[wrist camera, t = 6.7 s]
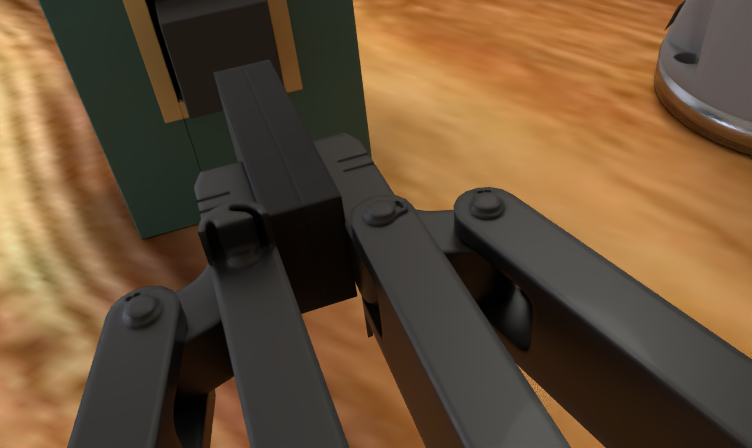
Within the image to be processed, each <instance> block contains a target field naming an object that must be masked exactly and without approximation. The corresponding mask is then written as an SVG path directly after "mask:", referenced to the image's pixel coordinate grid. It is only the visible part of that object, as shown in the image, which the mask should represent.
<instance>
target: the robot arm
mask: <svg viewBox="0 0 752 448" xmlns="http://www.w3.org/2000/svg"><path fill="white" fill-rule="evenodd" d="M672 23H673V24H672ZM671 24H672V26H671V27H670V29H669V31H668V33H667V34H666V36H665V39H664V40H663V42H662V44H661V47H660V50H659V55H658V61H657V66H656V71H655V77H654V85H655V90H656V93H657V95H658V97H659V99H660V101H661V102H662V103H663V105H664V106H665V107H666V108H667V110H668V111H669V112H670V113H671V114H672V115H673V116H675V117H676V118H677V119H678V120H679V121H681V122H682V123H684V124H685V125H686V126H688V127H689V128H691V129H693V130H694V131H696V132H698V133H699V134H701V135H703V136H705V137H707V138H709V139H711V140H713V141H715V142H717V143H720V144H722V145H724V146H727V147H729V148H732V149H735V150H737V151H740V152H743V153H746V154H750V155H752V0H685V1H684V2H683V3H682V4H680V5H679V6H678V7H677V9H676V11H675V13H674V14H673V16H672V18H671V20H670V22H669V23H668V25H667V27H666V29H667V28H668V27H669V26H670V25H671ZM666 29H665V30H666ZM665 30H664V31H665ZM213 73H214V76H215V80H216V84H217V87H218V91H219V95H220V99H221V102H222V106H223V110H224V113H225V117H226V121H227V124H228V128H229V132H230V135H231V139H232V143H233V146H234V150H235V154H236V157H237V161H238V162H237V163H233V164H229V165H225V166H222V167H218V168H214V169H210V170H206V171H203V172H200V174H199V176H198V178H197V181H196V183H195V185H194V189H195V193H196V198H197V202H198V207H199V211H200V215H201V221H200V223H199V227H198V234H199V237H200V240H201V243H202V246H203V248H204V251H205V254H206V257H207V260H208V264H207V267H206V268H205V270H204V271H203V273H202V274H201V275H200V276H199V277H198V278H197V279H196V280H195V281H193V282H192V283H190V284H189V285H187V286H186V287H184V288H182V289H180V290H178V291H177V292H175V293H174V292H173V290H171V289H168V288H165V287H163V286H148V287H144V288H140V289H136V290H134V291H132V292H130V293H128V294H126V295H124V296H123V297H121V298H120V299H119V300H118V301H117V302H116V303H115V304H114V305H113V306H112V307H111V309H110V310H109V312H108V314H107V316H106V318H105V322H104V325H103V328H102V332H101V335H100V339H99V342H98V345H97V349H96V352H95V356H94V359H93V362H92V366H91V369H90V372H89V376H88V379H87V383H86V386H85V389H84V393H83V396H82V400H81V403H80V406H79V410H78V413H77V416H76V420H75V423H74V427H73V430H72V433H71V437H70V440H69V444H68V447H67V448H210V443H211V434H212V424H213V415H214V406H215V397H216V395H215V388H217V387H218V386H220V385H221V384H223V383H224V382H226V381H227V380H229V379H231V378H232V377H234V376H235V380H236V385H237V389H238V394H239V398H240V402H241V407H242V411H243V416H244V420H245V424H246V429H247V433H248V438H249V442H250V446H251V448H349V445H348V443H347V440H346V437H345V434H344V432H343V429H342V426H341V423H340V420H339V418H338V415H337V412H336V409H335V407H334V404H333V401H332V398H331V396H330V393H329V390H328V387H327V384H326V382H325V379H324V376H323V373H322V371H321V368H320V365H319V362H318V360H317V357H316V354H315V351H314V348H313V346H312V343H311V340H310V337H309V335H308V332H307V329H306V326H305V323H304V321H303V318H302V315H301V314H302V313H306V312H309V311H312V310H315V309H318V308H322V307H325V306H328V305H331V304H334V303H337V302H341V301H344V300H347V299H350V298H353V297H356V296H357V291H356V285H355V282H356V284H357V286H358V289H359V291H360V293H361V295H362V301H363V307H364V314H365V321H366V327H367V333H368V337H371V336H373V333H374V335H375V337H376V339H377V342H378V344H379V346H380V348H381V350H382V353H383V355H384V357H385V359H386V361H387V363H388V366H389V368H390V370H391V372H392V374H393V377H394V379H395V381H396V383H397V385H398V388H399V390H400V392H401V394H402V396H403V398H404V401H405V403H406V405H407V407H408V409H409V412H410V414H411V416H412V418H413V420H414V422H415V425H416V427H417V429H418V431H419V433H420V436H421V438H422V440H423V442H424V444H425V447H426V448H571V447H570V445H569V444H568V442H567V441H566V439H565V438H564V436H563V435H562V433H561V432H560V430H559V428H558V427H557V425H556V424H555V422H554V421H553V419H552V418H551V416H550V415H549V413H548V412H547V410H546V409H545V407H544V406H543V404H542V402H541V401H540V399H539V398H538V396H537V395H536V393H535V392H534V390H533V389H532V387H531V386H530V384H529V383H528V381H527V380H526V378H525V377H524V375H523V373H522V372H521V370H520V369H519V367H520V368H522V369H523V370H524V371H525V372H526V373H527V374H528V375H529V376H530V377H531V378H532V379H533V380H534V381H535V382H536V383H537V384H539V385H540V386H541V387H542V388H543V389H544V390H545V391H546V392H547V393H548V394H549V395H550V396H551V397H552V398H553V399H555V400H556V401H557V402H558V403H559V404H560V405H561V406H562V407H563V408H564V409H565V410H566V411H567V412H568V413H569V414H570V415H572V416H573V417H574V418H575V419H576V420H577V421H578V422H579V423H580V424H581V425H582V426H583V427H584V428H585V429H586V430H588V431H589V432H590V433H591V434H592V435H593V436H594V437H595V438H596V439H597V440H598V441H599V442H600V443H601V444H602V445H603V446H605V447H606V448H752V359H751V358H749V357H748V356H746V355H745V354H743V353H742V352H740V351H739V350H737V349H736V348H735V347H733V346H732V345H730V344H729V343H727V342H726V341H724V340H723V339H722V338H720V337H719V336H717V335H716V334H714V333H713V332H711V331H710V330H708V329H707V328H706V327H704V326H703V325H701V324H700V323H698V322H697V321H695V320H694V319H693V318H691V317H690V316H688V315H687V314H685V313H684V312H682V311H681V310H679V309H678V308H677V307H675V306H674V305H672V304H671V303H669V302H668V301H666V300H665V299H664V298H662V297H661V296H659V295H658V294H656V293H655V292H653V291H652V290H650V289H649V288H648V287H646V286H645V285H643V284H642V283H640V282H639V281H637V280H636V279H635V278H633V277H632V276H630V275H629V274H627V273H626V272H624V271H623V270H621V269H620V268H619V267H617V266H616V265H614V264H613V263H611V262H610V261H608V260H607V259H606V258H604V257H603V256H601V255H600V254H598V253H597V252H595V251H594V250H592V249H591V248H590V247H588V246H587V245H585V244H584V243H582V242H581V241H579V240H578V239H576V238H575V237H574V236H572V235H571V234H569V233H568V232H566V231H565V230H563V229H562V228H561V227H559V226H558V225H556V224H555V223H553V222H552V221H550V220H549V219H547V218H546V217H545V216H543V215H542V214H540V213H539V212H537V211H536V210H534V209H533V208H532V207H530V206H529V205H527V204H526V203H524V202H523V201H521V200H520V199H518V198H517V197H516V196H514V195H513V194H511V193H509V192H507V191H504V190H502V189H497V188H491V187H485V188H476V189H473V190H469V191H466V192H465V193H463V194H462V195H461V196H459V197H458V198H457V200H456V202H455V204H454V210H444V211H422V210H417V209H415V208H414V207H413V205H412V204H410V203H409V202H408V201H407V200H406V199H404V198H401V197H399V196H396V195H394V193H393V192H392V190H391V189H390V187H389V185H388V184H387V182H386V181H385V179H384V178H383V176H382V174H381V173H380V171H379V170H378V168H377V167H376V165H375V164H374V162H373V160H372V159H371V157H370V156H369V155H368V152H367V151H366V149H365V148H364V146H363V145H362V143H361V141H360V140H358V139H356V138H354V137H352V136H351V135H349V134H347V133H341V134H338V135H334V136H330V137H326V138H322V139H318V140H315V141H312V139H311V137H310V135H309V133H308V131H307V129H306V128H305V126H304V124H303V122H302V120H301V118H300V116H299V114H298V112H297V110H296V109H295V107H294V105H293V103H292V101H291V99H290V97H289V95H288V93H287V91H286V90H285V88H284V86H283V84H282V82H281V80H280V78H279V76H278V74H277V72H276V71H275V69H274V67H273V65H272V63H271V61H270V59H269V60H265V61H260V62H256V63H252V64H248V65H243V66H239V67H235V68H230V69H226V70H222V71H218V72H213ZM517 365H518V366H519V367H518V366H517Z"/></svg>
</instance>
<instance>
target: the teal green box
mask: <svg viewBox="0 0 752 448" xmlns="http://www.w3.org/2000/svg"><path fill="white" fill-rule="evenodd" d="M38 1H39V4H40V6H41V8H42V11H43V13H44V15H45V18H46V20H47V22H48V24H49V27H50V29H51V31H52V34H53V36H54V38H55V41H56V43H57V45H58V48H59V50H60V52H61V55H62V57H63V59H64V61H65V64H66V66H67V68H68V71H69V73H70V75H71V78H72V80H73V82H74V85H75V87H76V89H77V92H78V94H79V96H80V98H81V101H82V103H83V105H84V108H85V110H86V112H87V115H88V117H89V119H90V122H91V124H92V126H93V129H94V131H95V133H96V135H97V138H98V140H99V142H100V145H101V147H102V149H103V152H104V154H105V156H106V159H107V161H108V163H109V166H110V168H111V170H112V172H113V175H114V177H115V179H116V182H117V184H118V186H119V189H120V191H121V193H122V196H123V198H124V200H125V203H126V205H127V207H128V209H129V212H130V214H131V216H132V219H133V221H134V223H135V226H136V228H137V230H138V233H139V235H140V237H141V239H145V238H149V237H153V236H156V235H160V234H163V233H167V232H170V231H174V230H177V229H181V228H184V227H188V226H191V225H195V224H198V223H200V221H201V215H200V211H199V207H198V202H197V198H196V193H195V189H194V185H195V183H196V181H197V178H198V176H199V174H200V172H203V171H206V170H210V169H214V168H218V167H222V166H225V165H229V164H233V163H237V162H238V161H237V157H236V154H235V150H234V146H233V143H232V139H231V135H230V132H229V128H228V124H227V121H226V117H225V113H224V110H223V111H219V112H215V113H211V114H207V115H203V116H199V117H195V118H190V117H189V115H188V112H187V109H186V106H185V103H184V99H183V96H182V93H181V90H180V87H179V84H178V81H177V78H176V74H175V71H174V68H173V65H172V62H171V59H170V56H169V53H168V49H167V46H166V43H165V40H164V37H163V34H162V31H161V28H160V24H159V20H158V16H157V11H156V7H155V3H154V0H38ZM266 1H267V5H268V10H269V15H270V20H271V25H272V30H273V34H274V39H275V44H276V49H277V54H278V59H279V64H280V68H281V73H282V78H283V83H284V88H285V90H286V91H287V93H288V95H289V97H290V99H291V101H292V103H293V105H294V107H295V109H296V110H297V112H298V114H299V116H300V118H301V120H302V122H303V124H304V126H305V128H306V129H307V131H308V133H309V135H310V137H311V139H312V141H315V140H318V139H322V138H326V137H330V136H334V135H338V134H341V133H347V134H349V135H351V136H352V137H354V138H356V139H358V140H360V141H361V143H362V145H363V146H364V148H365V149H366V151H367V152H368V155H369V156H370V157H371V149H370V141H369V132H368V124H367V116H366V107H365V99H364V91H363V83H362V74H361V66H360V58H359V49H358V41H357V33H356V25H355V16H354V8H353V0H266ZM371 159H372V157H371Z"/></svg>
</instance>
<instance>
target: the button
mask: <svg viewBox="0 0 752 448" xmlns="http://www.w3.org/2000/svg"><path fill="white" fill-rule="evenodd" d="M154 3H155V7H156V11H157V16H158V20H159V24H160V28H161V31H162V34H163V37H164V40H165V43H166V46H167V49H168V53H169V56H170V59H171V62H172V65H173V68H174V71H175V74H176V78H177V81H178V84H179V87H180V90H181V93H182V96H183V99H184V103H185V106H186V109H187V112H188V115H189V117H190V118H195V117H199V116H203V115H207V114H211V113H215V112H219V111H223V106H222V102H221V99H220V95H219V91H218V87H217V84H216V80H215V76H214V73H213V72H218V71H222V70H226V69H230V68H235V67H239V66H243V65H248V64H252V63H256V62H260V61H265V60H269V59H270V61H271V63H272V65H273V67H274V69H275V71H276V72H277V74H278V76H279V78H280V80H281V82H282V84H283V86H284V83H283V78H282V73H281V68H280V64H279V59H278V54H277V49H276V44H275V39H274V34H273V30H272V25H271V20H270V15H269V10H268V5H267V1H266V0H154Z"/></svg>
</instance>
